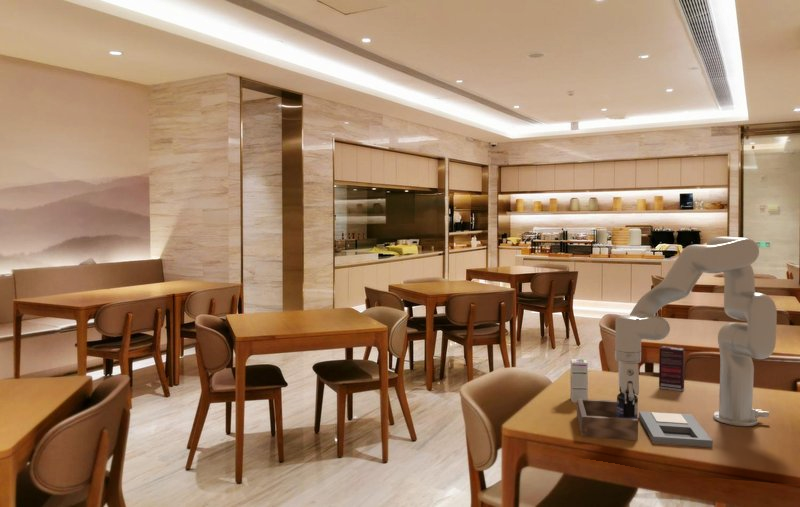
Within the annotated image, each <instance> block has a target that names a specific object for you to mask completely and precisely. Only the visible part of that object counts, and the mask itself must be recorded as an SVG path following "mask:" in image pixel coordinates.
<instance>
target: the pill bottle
mask: <svg viewBox="0 0 800 507" xmlns="http://www.w3.org/2000/svg"><path fill="white" fill-rule="evenodd" d="M626 393H628V392H626ZM627 397H628V396H627ZM616 401H617V418H632V419H638V416H639V410H638V408H639V398H638V395H636V394H635V392H634V404H635V416H634V417H624V416H623V403H624V394H623V393H622V392H621V388H619V393H618V394H617V395H616Z"/></svg>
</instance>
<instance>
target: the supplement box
mask: <svg viewBox="0 0 800 507" xmlns="http://www.w3.org/2000/svg"><path fill="white" fill-rule="evenodd" d="M685 350H686V348H685V347H675V346H665V345H662V346H660V347H659V358H658V359H659V360H658V361H659V362H658V364H659V367H658V373H659V374H658V388H659V389H660V388H661V389H660V390H667V389H668V390H669V391H675V392H683V391H684V390H685V369H686V368H685V364H686V362H685V361H686V360H685V357H686V356H685V354H686V351H685Z"/></svg>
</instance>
